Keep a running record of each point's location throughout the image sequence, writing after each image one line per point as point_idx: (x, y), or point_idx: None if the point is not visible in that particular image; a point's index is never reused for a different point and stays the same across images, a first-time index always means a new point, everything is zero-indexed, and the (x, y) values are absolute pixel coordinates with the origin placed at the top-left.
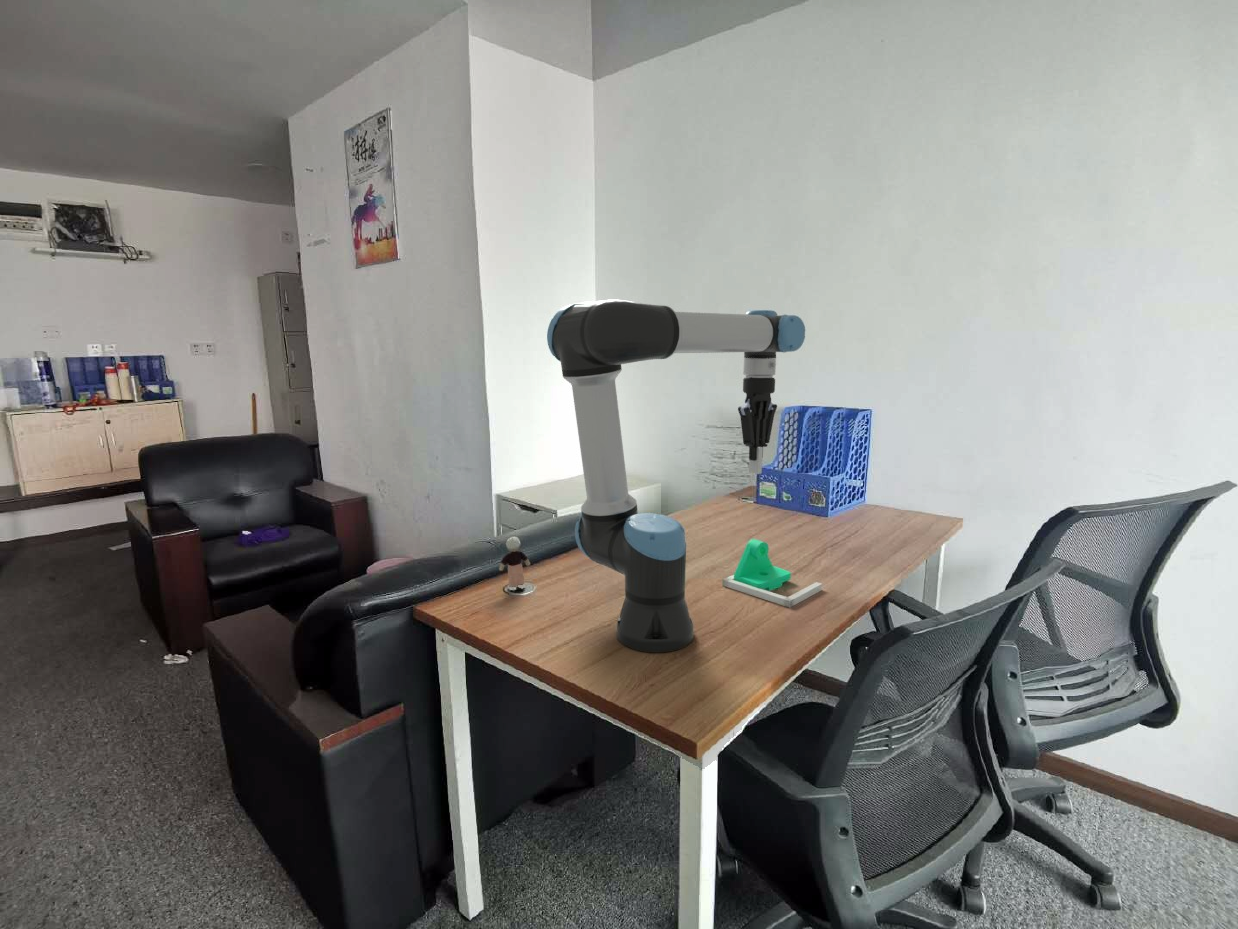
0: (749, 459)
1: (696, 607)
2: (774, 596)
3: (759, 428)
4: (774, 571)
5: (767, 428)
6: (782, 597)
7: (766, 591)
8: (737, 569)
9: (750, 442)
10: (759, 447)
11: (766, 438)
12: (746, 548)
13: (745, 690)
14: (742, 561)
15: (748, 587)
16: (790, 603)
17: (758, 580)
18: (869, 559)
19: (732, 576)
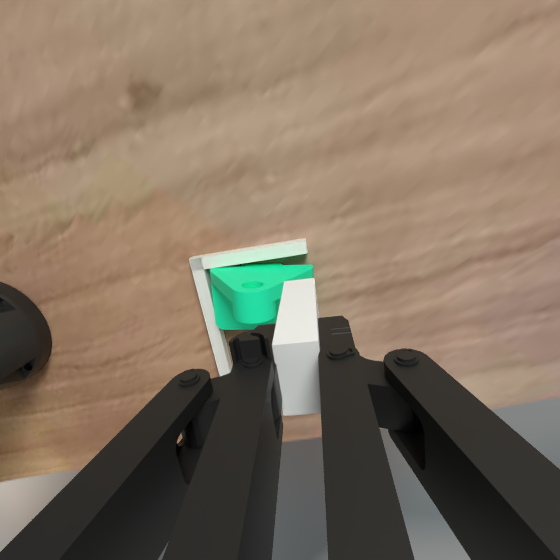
0: (257, 327)
1: (99, 297)
2: (216, 362)
3: (269, 557)
4: None
5: (454, 518)
6: (223, 373)
7: (219, 343)
8: (213, 276)
9: (181, 445)
10: (298, 407)
11: (399, 443)
12: (229, 290)
13: (39, 468)
14: (219, 285)
15: (204, 314)
16: None
17: (229, 316)
18: (555, 335)
19: (215, 259)
